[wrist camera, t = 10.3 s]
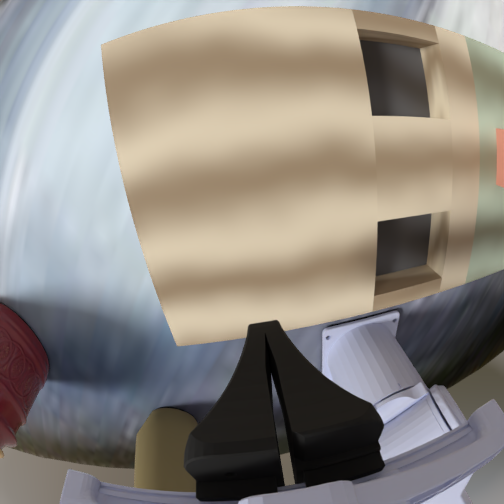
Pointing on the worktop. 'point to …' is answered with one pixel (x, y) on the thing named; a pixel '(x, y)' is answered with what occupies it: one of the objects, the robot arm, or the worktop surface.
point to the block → (500, 157)
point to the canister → (18, 374)
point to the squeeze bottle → (164, 451)
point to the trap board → (305, 163)
